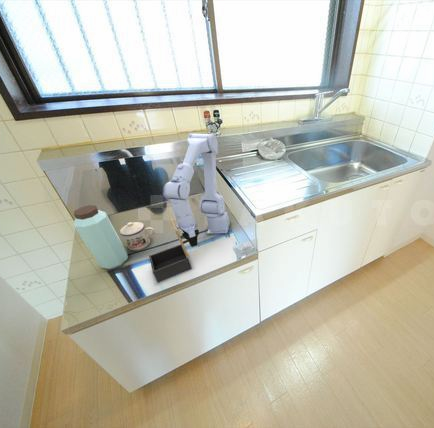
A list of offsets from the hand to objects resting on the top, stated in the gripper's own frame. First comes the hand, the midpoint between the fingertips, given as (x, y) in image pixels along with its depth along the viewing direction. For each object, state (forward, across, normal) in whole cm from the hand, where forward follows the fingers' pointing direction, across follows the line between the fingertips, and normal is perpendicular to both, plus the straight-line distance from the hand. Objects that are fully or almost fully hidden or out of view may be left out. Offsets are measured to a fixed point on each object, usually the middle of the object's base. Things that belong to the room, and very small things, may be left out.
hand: (192, 241), depth 91 cm
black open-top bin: (+8, 0, -10) cm, 13 cm away
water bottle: (+9, -17, -28) cm, 34 cm away
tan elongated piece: (-4, 0, -4) cm, 6 cm away
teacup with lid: (+9, -23, -17) cm, 30 cm away
